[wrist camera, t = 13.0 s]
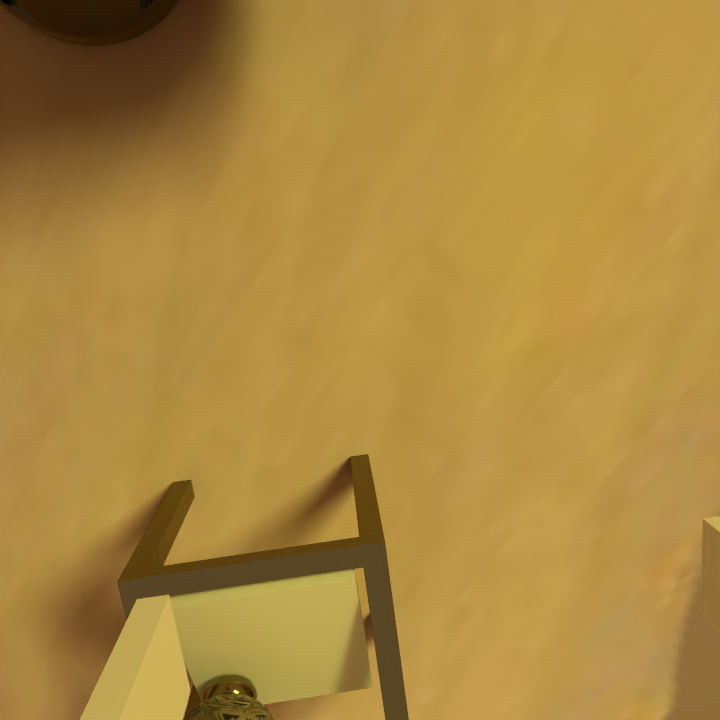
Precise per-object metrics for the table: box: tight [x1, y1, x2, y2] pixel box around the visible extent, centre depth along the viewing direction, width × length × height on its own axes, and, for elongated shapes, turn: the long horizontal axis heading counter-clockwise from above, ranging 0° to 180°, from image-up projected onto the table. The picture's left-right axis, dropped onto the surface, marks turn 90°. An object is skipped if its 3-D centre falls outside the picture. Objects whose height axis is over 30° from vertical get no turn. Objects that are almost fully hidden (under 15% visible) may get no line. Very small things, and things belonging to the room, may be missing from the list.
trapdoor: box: [169, 569, 373, 704], centre depth 41 cm, size 12×12×1 cm
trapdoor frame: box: [117, 454, 409, 720], centre depth 46 cm, size 16×16×14 cm
